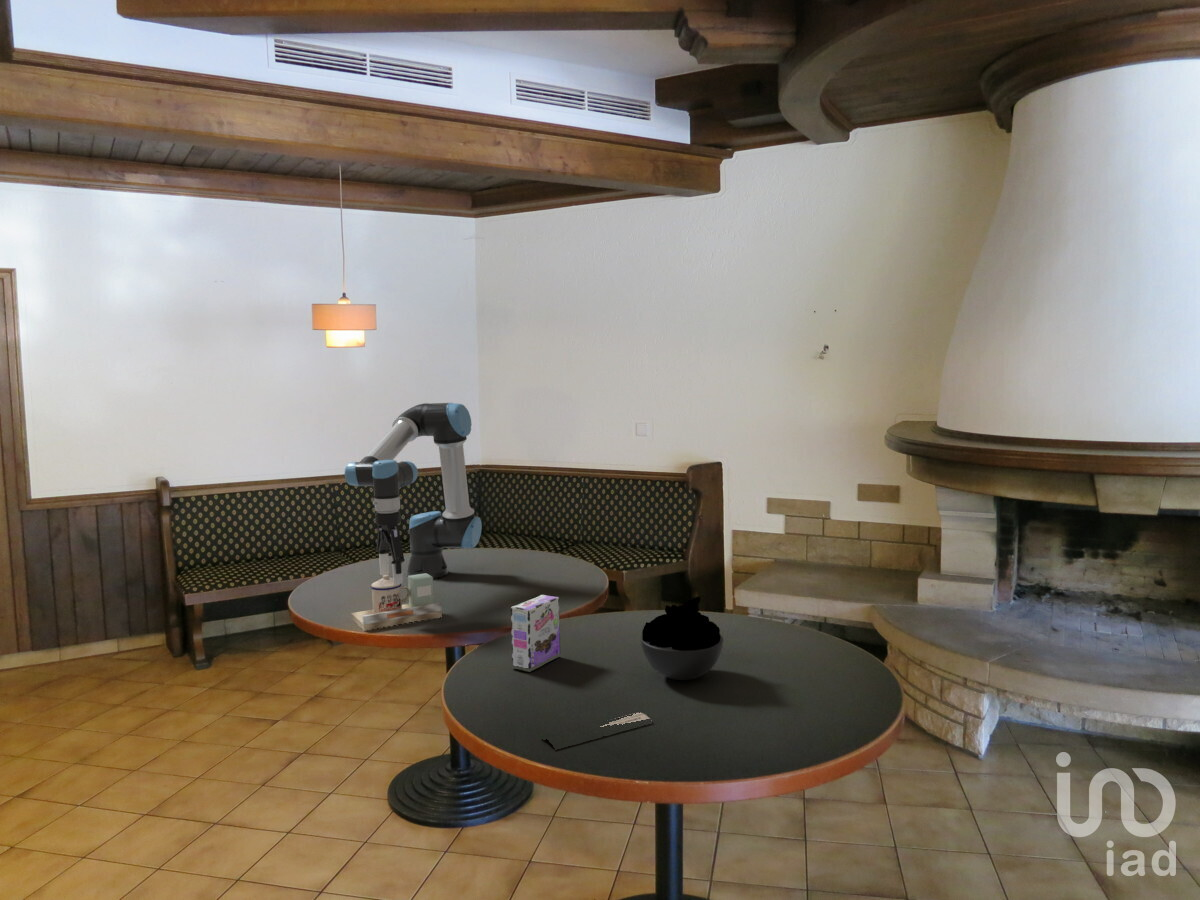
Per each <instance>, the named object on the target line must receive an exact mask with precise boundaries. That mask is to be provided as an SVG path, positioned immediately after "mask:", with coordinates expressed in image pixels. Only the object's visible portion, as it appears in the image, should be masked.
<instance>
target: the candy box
mask: <svg viewBox="0 0 1200 900" xmlns="http://www.w3.org/2000/svg"><path fill="white" fill-rule="evenodd" d="M510 616H511V617H510V621H511V622H510V624H511V625H510V626H511V628H510V630H511V666H512V665H514V666H519V667H523V668H529V669H530V668H532V667H534V666H536V665H538V664H539V663H541V662H544V661H546V660H547V659H549V658H551V657H553V656H555V655H557V654H559V653H560V654H561V629H560V623H561V622H560V597H559V596H552V595H546V594H540V595H538V596H537V597H534V598H531V599H528V600H526V601H523V602H520V603H519V604H516V605H513V606H511V607H510Z"/></svg>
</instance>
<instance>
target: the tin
mask: <svg viewBox="0 0 1200 900" xmlns="http://www.w3.org/2000/svg"><path fill="white" fill-rule="evenodd" d="M407 587H408V588H409V589H410V597H409V599H408V604H409V607H410V608H411V607H417V606H423V605H429V604H435V599H434V578H433V577H432V576H430V575H429V574H427V573H424V574H417V575H410V576H408V577H407Z"/></svg>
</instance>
